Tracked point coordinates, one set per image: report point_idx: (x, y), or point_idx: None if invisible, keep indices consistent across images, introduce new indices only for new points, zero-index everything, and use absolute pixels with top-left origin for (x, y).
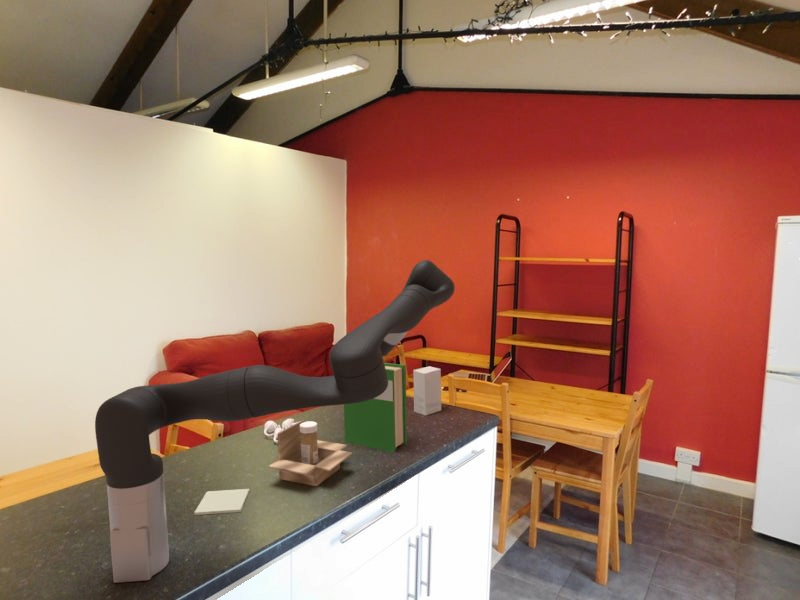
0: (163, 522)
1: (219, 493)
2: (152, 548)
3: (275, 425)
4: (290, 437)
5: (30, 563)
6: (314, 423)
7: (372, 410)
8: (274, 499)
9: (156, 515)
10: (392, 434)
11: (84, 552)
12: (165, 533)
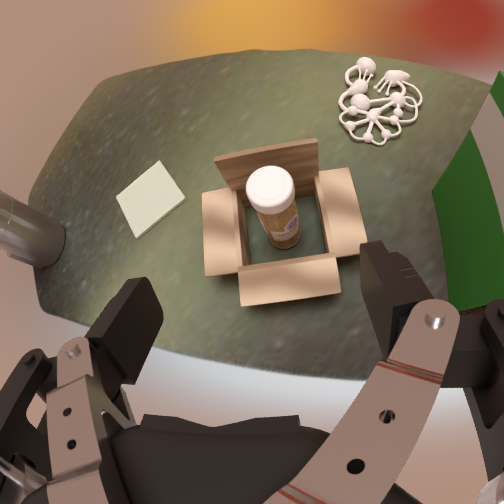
0: (22, 250)
1: (160, 177)
2: (27, 259)
3: (365, 71)
4: (258, 165)
5: (47, 170)
6: (278, 196)
7: (483, 232)
8: (181, 251)
9: (8, 250)
10: (467, 305)
11: (58, 183)
12: (33, 253)
